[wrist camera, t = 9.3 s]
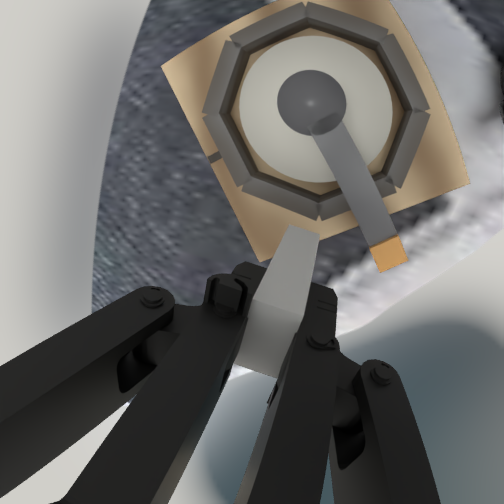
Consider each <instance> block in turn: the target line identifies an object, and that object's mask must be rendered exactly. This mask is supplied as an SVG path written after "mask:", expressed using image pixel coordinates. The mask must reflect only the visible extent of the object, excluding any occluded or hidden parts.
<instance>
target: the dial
mask: <svg viewBox="0 0 504 504" xmlns="http://www.w3.org/2000/svg"><path fill="white" fill-rule="evenodd" d="M239 110H240V119H241V123H242V127H243V130H244V132H245V135H246V137H247V139H248V141H249V143H250V145H251V146H252V147H253V149H254V150H255V152H256V153H257V154H258V155H259V156H260V157H261V158H262V159H263V160H264V161H265V162H266V163H267V164H268V165H269V166H271V167H272V168H274V169H275V170H277V171H278V172H280V173H282V174H284V175H286V176H289V177H291V178H294V179H297V180H302V181H306V182H315V183H316V182H332V181H337V182H338V184H339V186H340V188H341V190H342V192H343V194H344V196H345V198H346V200H347V202H348V204H349V206H350V208H351V210H352V212H353V214H354V216H355V218H356V220H357V222H358V224H359V226H360V229H361V231H362V233H363V235H364V237H365V239H366V241H367V244H368V246H369V248H370V251H371V253H372V255H373V258H374V260H375V262H376V265H377V267H378V269H379V271H380V273H381V272H383V271H386V270H388V269H390V268H392V267H395V266H397V265H399V264H401V263H404V262H406V261H408V259H407V256H406V253H405V251H404V248H403V246H402V243H401V241H400V238H399V236H398V234H397V232H396V229H395V227H394V224H393V222H392V220H391V217H390V215H389V213H388V211H387V208H386V206H385V204H384V202H383V200H382V197H381V195H380V193H379V191H378V189H377V187H376V185H375V183H374V180H373V178H372V176H371V174H370V172H369V170H368V168H367V165H369V164H370V163H371V162H372V161H373V160H374V159H375V158H376V157H377V155H378V154H379V153H380V151H381V150H382V148H383V146H384V145H385V143H386V141H387V138H388V135H389V133H390V129H391V124H392V113H393V112H392V101H391V96H390V92H389V89H388V86H387V84H386V82H385V80H384V78H383V76H382V74H381V73H380V71H379V70H378V68H377V67H376V66H375V64H374V63H373V62H372V61H371V60H370V59H369V58H368V57H367V56H366V55H364V54H363V53H362V52H361V51H359V50H358V49H356V48H355V47H353V46H351V45H349V44H347V43H345V42H343V41H340V40H337V39H334V38H329V37H324V36H302V37H296V38H292V39H289V40H286V41H283V42H281V43H279V44H277V45H275V46H273V47H272V48H270V49H269V50H267V51H266V52H265V53H264V54H263V55H261V56H260V57H259V58H258V59H257V61H256V62H255V63H254V64H253V65H252V67H251V68H250V70H249V72H248V73H247V76H246V78H245V80H244V82H243V86H242V89H241V94H240V103H239Z"/></svg>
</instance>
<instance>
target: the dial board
mask: <svg viewBox="0 0 504 504" xmlns="http://www.w3.org/2000/svg"><path fill="white" fill-rule="evenodd" d="M302 36H324V37H329V38H334V39H337V40H340V41H343V42H345V43H347V44H349V45H351V46H353V47H355V48H356V49H358V50H359V51H361V52H362V53H363V54H364V55H366V56H367V57H368V58H369V59H370V60H371V61H372V62H373V63H374V64H375V66H376V67H377V68H378V70H379V71H380V73H381V74H382V76H383V78H384V80H385V82H386V84H387V86H388V89H389V92H390V96H391V101H392V112H393V113H392V124H391V129H390V133H389V135H388V138H387V141H386V143H385V145H384V146H383V148H382V150H381V151H380V153H379V154H378V155H377V157H376V158H375V159H374V160H373V161H372V162H371V163H370V164H369V165H367V168H368V170H369V172H370V174H371V176H372V178H373V180H374V183H375V185H376V187H377V189H378V191H379V193H380V195H381V197H382V200H383V202H384V204H385V206H386V208H387V211H388V213H389V214H392V213H394V212H397V211H400V210H402V209H405V208H408V207H410V206H413V205H416V204H418V203H421V202H423V201H426V200H429V199H431V198H434V197H437V196H439V195H442V194H444V193H447V192H450V191H452V190H455V189H457V188H460V187H463V186H465V185H468V184H470V181H469V178H468V174H467V170H466V167H465V164H464V160H463V157H462V154H461V151H460V148H459V145H458V142H457V139H456V136H455V133H454V130H453V127H452V125H451V122H450V119H449V117H448V114H447V112H446V109H445V107H444V104H443V102H442V99H441V97H440V95H439V92H438V90H437V88H436V85H435V83H434V81H433V79H432V77H431V75H430V72H429V70H428V68H427V66H426V64H425V62H424V60H423V58H422V56H421V54H420V52H419V50H418V49H417V47H416V45H415V43H414V41H413V39H412V38H411V36H410V34H409V32H408V30H407V29H406V27H405V25H404V24H403V22H402V20H401V19H400V17H399V15H398V14H397V12H396V11H395V9H394V7H393V6H392V4H391V3H390V1H389V0H277V1H275V2H273V3H271V4H268V5H266V6H264V7H262V8H260V9H258V10H256V11H254V12H252V13H250V14H248V15H246V16H244V17H242V18H240V19H238V20H236V21H234V22H232V23H230V24H228V25H227V26H225V27H223V28H221V29H219V30H218V31H216V32H214V33H212V34H211V35H209V36H207V37H206V38H204V39H202V40H201V41H199V42H197V43H196V44H194V45H192V46H191V47H189V48H188V49H186V50H184V51H183V52H181V53H180V54H178V55H177V56H175V57H174V58H172V59H171V60H169V61H168V62H166V63H165V64H163V65H162V66H161V67H162V69H163V71H164V73H165V75H166V77H167V79H168V81H169V83H170V85H171V87H172V89H173V91H174V93H175V95H176V97H177V99H178V101H179V103H180V105H181V107H182V109H183V111H184V113H185V115H186V117H187V119H188V121H189V123H190V125H191V127H192V129H193V131H194V133H195V135H196V137H197V139H198V141H199V143H200V145H201V147H202V149H203V151H204V153H205V155H206V157H207V159H208V161H209V163H210V164H211V166H212V168H213V170H214V172H215V174H216V176H217V178H218V180H219V182H220V184H221V186H222V188H223V190H224V192H225V194H226V196H227V198H228V200H229V202H230V204H231V206H232V208H233V210H234V212H235V214H236V216H237V218H238V220H239V222H240V224H241V226H242V228H243V230H244V232H245V234H246V236H247V238H248V240H249V242H250V244H251V246H252V248H253V250H254V252H255V254H256V256H257V258H258V260H259V262H262V261H265V260H267V259H270V258H273V256H274V254H275V252H276V250H277V248H278V246H279V244H280V242H281V240H282V238H283V236H284V234H285V232H286V230H287V228H288V226H289V224H290V225H293V226H296V227H299V228H302V229H305V230H308V231H311V232H314V233H317V234H320V238H319V240H322V239H325V238H327V237H330V236H333V235H336V234H338V233H341V232H344V231H346V230H349V229H352V228H354V227H357V226H359V224H358V222H357V220H356V218H355V216H354V214H353V212H352V210H351V208H350V206H349V204H348V202H347V200H346V198H345V196H344V194H343V192H342V190H341V188H340V186H339V184H338V182H337V181H332V182H316V183H315V182H306V181H302V180H297V179H294V178H291V177H289V176H286V175H284V174H282V173H280V172H278V171H277V170H275V169H274V168H272V167H271V166H269V165H268V164H267V163H266V162H265V161H264V160H263V159H262V158H261V157H260V156H259V155H258V154H257V153H256V152H255V150H254V149H253V147H252V146H251V145H250V143H249V141H248V139H247V137H246V135H245V132H244V130H243V127H242V123H241V119H240V110H239V103H240V94H241V89H242V86H243V82H244V80H245V78H246V76H247V73H248V72H249V70H250V68H251V67H252V65H253V64H254V63H255V62H256V61H257V59H258V58H259V57H260V56H261V55H263V54H264V53H265V52H266V51H267V50H269V49H270V48H272V47H273V46H275V45H277V44H279V43H281V42H283V41H286V40H289V39H292V38H296V37H302Z"/></svg>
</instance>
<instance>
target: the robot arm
mask: <svg viewBox="0 0 504 504" xmlns="http://www.w3.org/2000/svg"><path fill="white" fill-rule="evenodd" d="M319 238H320V234H317V233H314V232H311V231H308V230H305V229H302V228H299V227H296V226H293V225H290V224H289V226H288V228H287V230H286V232H285V234H284V236H283V238H282V240H281V242H280V244H279V246H278V248H277V250H276V252H275V254H274V256H273V258H272V260H271V262H270V265H269V267H268V269H267V268H264V267H261V266H258V265H255V264H252V263H249V262H243V263H241V264H239V265H237V266H236V267H235V269H234V270H233V272H232V273H231V274H216V275H212V276H211V277H209V278H208V279H207V284H206V290H205V296H204V302H203V303H202V305H201V306H186V305H179V304H175V299H174V297H173V295H172V294H171V293H170V292H169V291H168V290H165V289H163V288H161V287H155V286H145V287H141V288H138V289H136V290H134V291H132V292H131V293H129V294H127V295H125V296H123V297H122V298H120V299H118V300H116V301H114V302H112V303H111V304H109V305H107V306H105V307H103V308H102V309H100V310H98V311H96V312H94V313H93V314H91V315H89V316H87V317H86V318H84V319H82V320H80V321H78V322H77V323H75V324H73V325H71V326H69V327H68V328H66V329H64V330H62V331H61V332H59V333H57V334H55V335H53V336H52V337H50V338H48V339H46V340H45V341H43V342H41V343H39V344H38V345H36V346H35V347H33V348H31V349H29V350H27V351H26V352H24V353H22V354H21V355H19V356H17V357H15V358H14V359H12V360H10V361H8V362H7V363H5V364H3V365H2V366H0V498H1V497H3V496H4V495H6V494H7V493H8V492H10V491H11V490H13V489H14V488H16V487H17V486H18V485H20V484H21V483H22V482H24V481H25V480H27V479H28V478H29V477H31V476H32V475H33V474H35V473H36V472H37V471H39V470H40V469H41V468H43V467H44V466H45V465H47V464H48V463H49V462H51V461H52V460H53V459H55V458H56V457H57V456H59V455H60V454H61V453H63V452H64V451H65V450H66V449H68V448H69V447H71V446H72V445H73V444H74V443H76V442H77V441H78V440H80V439H81V438H82V437H83V436H85V435H86V434H87V433H88V432H90V431H91V430H92V429H94V428H95V427H96V426H97V425H99V424H100V423H101V422H102V421H104V420H105V419H106V418H108V417H109V416H110V415H111V414H113V413H114V412H115V411H116V410H118V409H119V408H120V407H121V406H123V405H124V404H125V403H126V402H128V401H129V400H130V399H131V398H133V397H134V396H135V395H136V394H137V395H136V396H135V398H134V399H133V400H132V402H131V403H130V405H129V406H128V407H127V409H126V411H125V412H124V413H123V414H122V416H121V417H120V419H119V420H118V422H117V423H116V424H115V426H114V427H113V429H112V430H111V431H110V433H109V434H108V436H107V437H106V438H105V440H104V441H103V443H102V444H101V446H100V447H99V449H98V450H97V451H96V453H95V454H94V456H93V457H92V458H91V460H90V461H89V463H88V464H87V465H86V467H85V468H84V470H83V471H82V473H81V474H80V476H79V477H78V478H77V480H76V481H75V483H74V484H73V486H72V487H71V488H70V490H69V491H68V493H67V494H66V495H65V496H64V497H63V498H62V499H61V500H60V501H57V502H54V503H50V504H168V502H169V500H170V498H171V496H172V494H173V492H174V490H175V488H176V486H177V484H178V482H179V480H180V478H181V476H182V474H183V472H184V470H185V468H186V466H187V464H188V462H189V460H190V458H191V456H192V454H193V452H194V450H195V448H196V446H197V444H198V441H199V440H200V437H201V435H202V433H203V431H204V429H205V427H206V425H207V423H208V421H209V418H210V416H211V414H212V412H213V410H214V408H215V406H216V404H217V402H218V399H219V397H220V395H221V393H222V391H223V389H224V387H225V384H226V382H227V380H228V378H229V376H230V372H231V369H232V365H233V363H234V364H237V365H239V366H242V367H245V368H248V369H251V370H254V371H256V372H260V373H262V374H265V375H268V376H272V377H275V378H278V379H277V382H276V384H275V386H274V388H273V390H272V393H271V395H270V397H269V399H268V401H267V403H268V407H267V410H266V413H265V416H264V419H263V422H262V425H261V428H260V431H259V434H258V437H257V440H256V443H255V446H254V449H253V452H252V455H251V458H250V461H249V463H248V467H247V469H246V472H245V475H244V478H243V480H242V483H241V486H240V488H239V491H238V494H237V497H236V499H235V502H234V504H320V499H321V494H322V489H323V483H324V478H325V471H326V465H327V459H328V453H329V460H330V469H331V476H332V485H333V494H334V504H441V503H440V499H439V495H438V492H437V488H436V484H435V481H434V477H433V474H432V470H431V467H430V463H429V460H428V457H427V454H426V450H425V447H424V444H423V441H422V438H421V435H420V432H419V429H418V426H417V423H416V420H415V417H414V414H413V412H412V409H411V406H410V403H409V400H408V398H407V395H406V392H405V389H404V387H403V384H402V382H401V379H400V376H399V375H398V373H397V371H396V370H395V369H394V368H393V367H392V366H390V365H389V364H387V363H385V362H383V361H380V360H376V359H374V360H367V361H366V362H364V363H363V364H362V366H361V365H359V364H357V363H355V362H354V361H352V360H350V359H349V358H347V357H346V356H344V355H343V354H342V353H341V352H340V347H339V342H338V340H337V339H336V338H335V331H336V317H337V314H336V313H337V301H338V298H337V296H336V294H335V292H334V290H333V289H331V288H328V287H325V286H322V285H319V284H316V283H313V282H311V279H312V274H313V269H314V264H315V259H316V254H317V248H318V243H319ZM234 361H235V362H234ZM278 375H279V376H278Z"/></svg>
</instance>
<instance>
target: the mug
mask: <svg viewBox="0 0 504 504" xmlns="http://www.w3.org/2000/svg"><path fill="white" fill-rule="evenodd" d="M501 87H502V90H503V94H504V65H503V67H502V70H501ZM500 113H501V117H502V120H503V123H504V100H503V101H502V102H501V104H500Z"/></svg>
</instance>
